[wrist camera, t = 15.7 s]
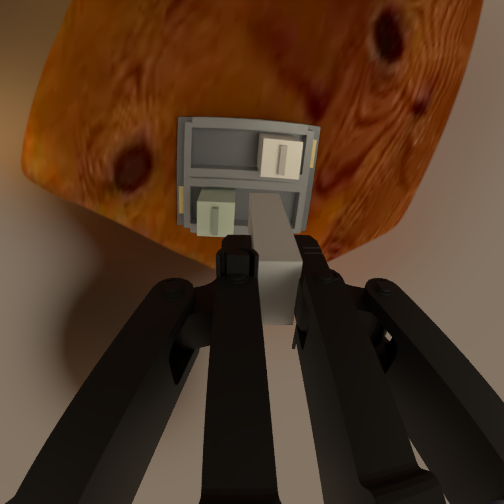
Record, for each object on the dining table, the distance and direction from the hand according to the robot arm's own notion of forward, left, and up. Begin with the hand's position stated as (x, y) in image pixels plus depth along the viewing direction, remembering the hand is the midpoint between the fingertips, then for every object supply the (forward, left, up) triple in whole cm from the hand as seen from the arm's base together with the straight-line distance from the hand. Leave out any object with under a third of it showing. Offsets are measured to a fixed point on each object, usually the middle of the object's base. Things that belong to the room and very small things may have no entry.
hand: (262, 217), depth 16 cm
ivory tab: (0, +3, -21) cm, 22 cm away
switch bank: (+3, 0, -23) cm, 23 cm away
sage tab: (+7, -3, -21) cm, 23 cm away
